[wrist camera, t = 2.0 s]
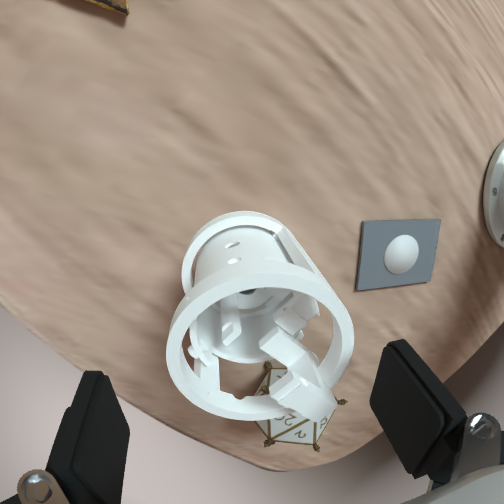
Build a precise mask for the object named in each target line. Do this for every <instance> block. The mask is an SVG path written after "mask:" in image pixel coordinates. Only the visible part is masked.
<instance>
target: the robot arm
mask: <svg viewBox="0 0 504 504" xmlns="http://www.w3.org/2000/svg"><path fill="white" fill-rule="evenodd" d="M483 208H484V217H485V222H486V226H487V229H488V232H489V234H490V236H491V237H492V239H493V240H494V241H495V242H496V243H497V244H498V245H500V246H502V247H504V141H503V142H501V144H500V145H499V146H498V148H497V149H496V151H495V153H494V155H493V157H492V159H491V161H490V164H489V167H488V170H487V174H486V179H485V185H484V194H483ZM370 406H371V409H372V410H373V412H374V414H375V416H376V417H377V419H378V421H379V423H380V425H381V426H382V428H383V430H384V432H385V433H386V435H387V437H388V439H389V441H390V442H391V444H392V446H393V448H394V450H395V451H396V453H397V455H398V457H399V459H400V461H401V462H402V464H403V466H404V468H405V470H406V471H407V473H409V474H412V475H413V477H414V479H417V478H419V477H422V476H424V475H426V474H428V476H429V478H430V482H429V485H428V489H427V492H426V494H423V495H421V496H419V497H416V498H414V499H411V500H409V501H407V502H404V503H402V504H504V431H501V427H500V424H499V422H498V420H497V419H496V418H495V417H493V416H492V415H490V414H487V413H484V412H478V413H474V414H472V415H471V416H469V417H467V416H466V412H465V411H464V409H463V408H462V407H461V406H460V405H459V403H458V402H457V401H456V399H454V397H453V396H452V395H451V393H450V392H449V391H448V390H447V388H446V387H445V386H444V385H443V384H442V382H441V381H440V380H439V379H438V378H437V376H436V375H435V374H434V373H433V372H432V370H431V369H430V368H429V367H428V366H427V365H426V363H425V362H424V361H423V360H422V359H421V357H420V356H419V355H418V354H417V353H416V352H415V350H414V349H413V348H412V347H411V346H410V345H409V344H408V342H407V341H406V340H404V339H401V340H396V341H392V342H389V343H388V344H387V346H386V347H384V349H383V352H382V356H381V360H380V364H379V368H378V372H377V375H376V379H375V383H374V386H373V390H372V393H371V397H370ZM129 437H130V429H129V426H128V423H127V421H126V419H125V416H124V414H123V412H122V409H121V407H120V405H119V402H118V400H117V397H116V395H115V392H114V390H113V387H112V384H111V382H110V379H109V377H108V376H107V375H104V374H103V372H102V371H85V372H84V373H83V376H82V378H81V381H80V384H79V386H78V389H77V391H76V394H75V396H74V399H73V402H72V405H71V407H68V408H67V409H66V411H65V413H64V415H63V418H62V421H61V424H60V426H59V429H58V432H57V435H56V438H55V441H54V444H53V447H52V450H51V453H50V456H49V460H48V463H47V466H46V469H45V471H44V470H36V469H35V470H31V471H28V472H27V473H25V474H24V475H23V476H22V477H21V478H20V480H19V482H18V486H17V492H18V494H16V495H14V496H12V497H11V498H9V499H7V500H5V501H3V502H1V503H0V504H121V495H122V487H123V479H124V471H125V464H126V456H127V450H128V443H129Z"/></svg>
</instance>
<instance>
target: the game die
mask: <svg viewBox="0 0 504 504" xmlns="http://www.w3.org/2000/svg"><path fill="white" fill-rule="evenodd" d="M266 366H267V368H268V369H269V371H268V372H267V374H266V376H265V377H264V379H263V380H262V382H261V384H260V385H259V387H258V389H257V390H256V392H255V393H254V395H253V396H262V395H269V394H270V392H269V387H270V386H271V385H273V384H274V383H275V382H277V381H278V380H279V379H280V378H282V377H283V376H284V375H285V374H287V373H288V369H287V368H272V365H271V363H270V362H268V361H266ZM334 397H335V396H334ZM335 400H336V402H337V404H341V405H342V404H345V403H347V402H348V401H346V400H344V399H343V400H342V399H341V400H339V401H338V400H337V399H336V398H335ZM334 411H335V410H334ZM334 411H332V412H331V413H330V414H328V415H327V416H325V417H324V418H323V419H321V420H320V421H318V422H316V423H315V422H314V421H312V420H310V419H308V418H306V417H304V416H302V414H301V413H299V412H294V413H291V414H289V415H285V416H282V417H278V418H273V419H267V420H256V421H255V423H256V424H257V425H258V427H259V428H260V429H261V431H262V432H263V433H264V434H265V436H266V437H267V438H268V439H267V440H265V442H264V448H265V447H267V446H270V445H273V444H275V442H284V443H294V444H305V445H313V448H314V451H317V452H320V447H319V446H318V445H317V444H316V442H317V441H318V439H319V437H320V436H321V434H322V432H323V431H324V429H325V427H326V425H327V424H328V422H329V420H330V418H331V417H332V415H333V413H334Z"/></svg>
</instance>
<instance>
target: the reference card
mask: <svg viewBox="0 0 504 504" xmlns="http://www.w3.org/2000/svg"><path fill="white" fill-rule="evenodd" d="M440 222H441V220H439V219H414V220H378V221H362V233H361V244H360V255H359V265H358V274H357V283H356V289H357V290H366V289H374V288H383V287H391V286H399V285H406V284H414V283H421V282H428V281H431V276H432V271H433V266H434V260H435V255H436V249H437V243H438V236H439V229H440Z"/></svg>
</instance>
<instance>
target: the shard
mask: <svg viewBox="0 0 504 504" xmlns="http://www.w3.org/2000/svg"><path fill="white" fill-rule="evenodd" d="M85 1H88V2H91V3H94V4H96V5H98V6H101V7H102V8H106V9H109V10H115V11H117V12H120V13H122V14H127V15H128V13H129V8H128V1H127V0H85Z"/></svg>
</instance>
